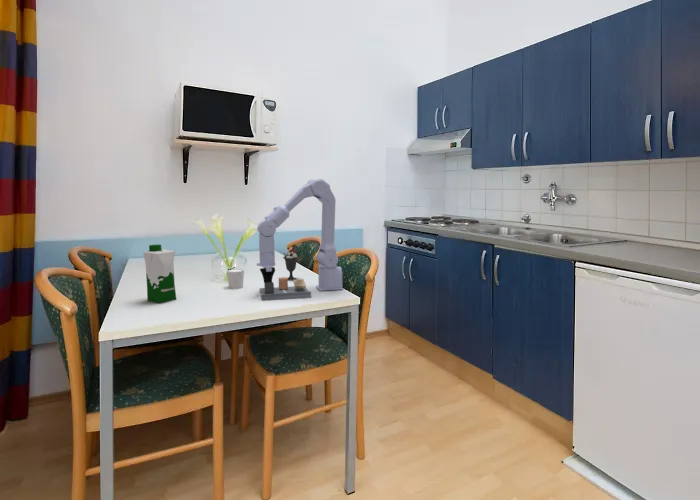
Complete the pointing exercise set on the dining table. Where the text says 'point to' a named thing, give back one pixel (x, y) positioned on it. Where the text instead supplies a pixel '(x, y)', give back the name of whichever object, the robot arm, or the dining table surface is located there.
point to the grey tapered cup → (235, 278)
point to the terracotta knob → (283, 283)
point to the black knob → (269, 287)
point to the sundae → (290, 262)
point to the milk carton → (160, 274)
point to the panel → (285, 293)
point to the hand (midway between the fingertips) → (267, 286)
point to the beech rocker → (299, 283)
